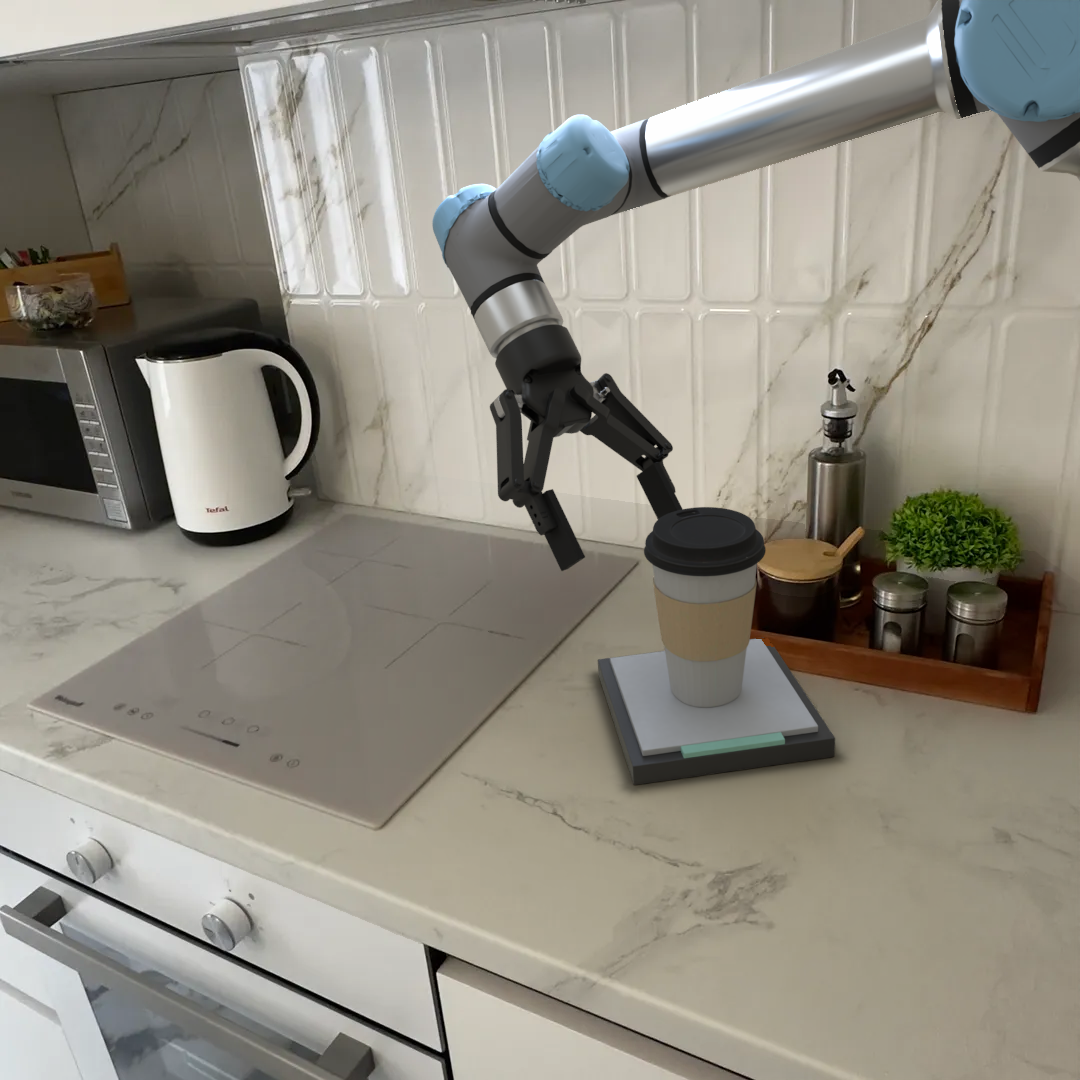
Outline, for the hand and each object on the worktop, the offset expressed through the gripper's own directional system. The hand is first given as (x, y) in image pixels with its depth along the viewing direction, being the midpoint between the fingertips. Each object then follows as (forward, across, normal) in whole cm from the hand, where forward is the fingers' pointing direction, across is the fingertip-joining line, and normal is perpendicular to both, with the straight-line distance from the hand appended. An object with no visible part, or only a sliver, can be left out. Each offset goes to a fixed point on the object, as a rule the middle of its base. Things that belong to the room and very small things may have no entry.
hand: (628, 546), depth 87 cm
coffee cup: (+14, +1, +2) cm, 14 cm away
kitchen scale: (+16, +1, +1) cm, 16 cm away
